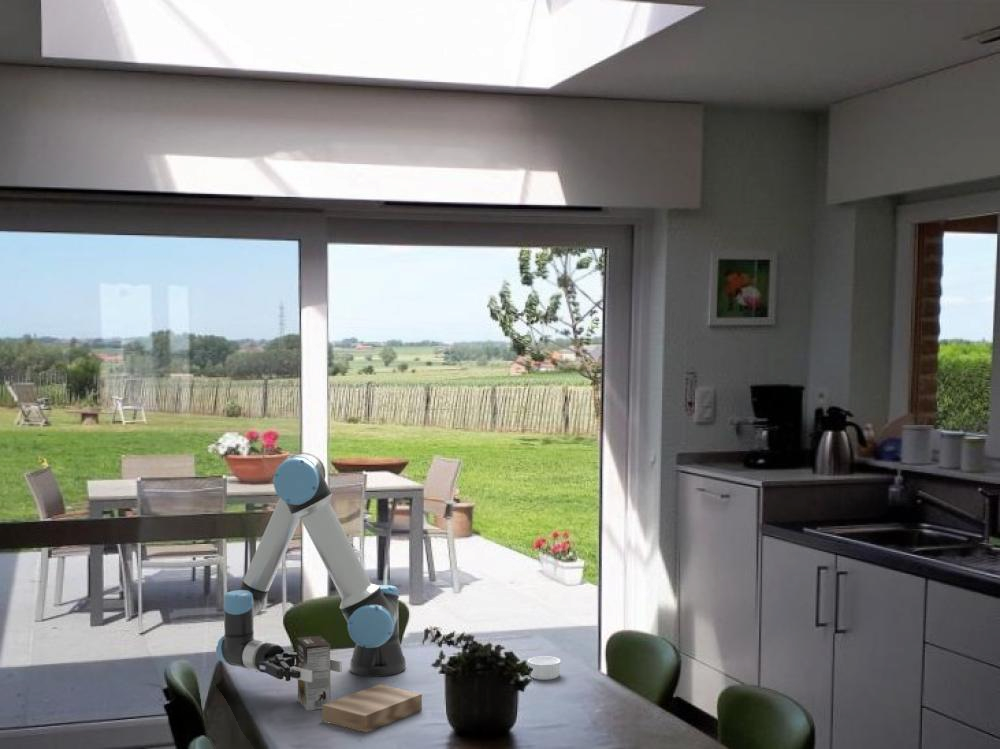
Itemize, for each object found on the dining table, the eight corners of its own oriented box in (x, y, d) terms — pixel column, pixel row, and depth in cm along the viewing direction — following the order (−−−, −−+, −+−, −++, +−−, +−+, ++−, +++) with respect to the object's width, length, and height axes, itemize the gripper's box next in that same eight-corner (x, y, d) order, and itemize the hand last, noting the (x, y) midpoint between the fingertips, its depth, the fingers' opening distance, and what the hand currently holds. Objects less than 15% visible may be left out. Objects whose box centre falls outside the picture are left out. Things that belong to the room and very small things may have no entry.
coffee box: (297, 700, 301) (296, 637, 300) (322, 697, 303) (321, 634, 303) (306, 711, 292) (304, 646, 292) (331, 707, 295) (330, 643, 294)
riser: (379, 699, 301) (379, 684, 301) (421, 710, 292) (421, 694, 292) (322, 721, 285) (322, 704, 285) (365, 732, 277) (365, 715, 276)
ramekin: (526, 671, 325) (526, 656, 324) (559, 671, 325) (559, 655, 325) (528, 681, 316) (528, 665, 316) (562, 680, 316) (562, 664, 316)
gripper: (296, 661, 317) (357, 675, 304) (231, 682, 300) (293, 697, 286) (295, 633, 317) (357, 646, 304) (230, 652, 299) (292, 666, 286)
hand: (326, 671), depth 295 cm, fingers closed on coffee box, 9 cm apart
